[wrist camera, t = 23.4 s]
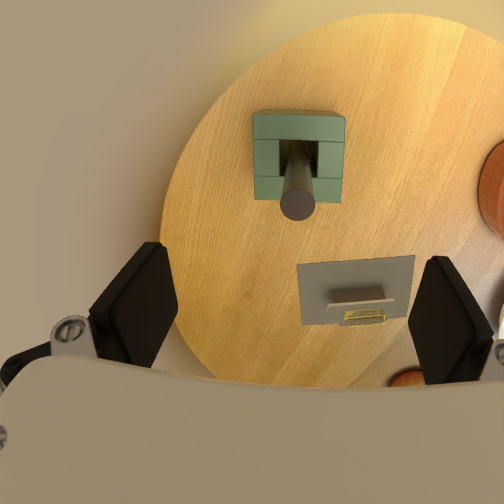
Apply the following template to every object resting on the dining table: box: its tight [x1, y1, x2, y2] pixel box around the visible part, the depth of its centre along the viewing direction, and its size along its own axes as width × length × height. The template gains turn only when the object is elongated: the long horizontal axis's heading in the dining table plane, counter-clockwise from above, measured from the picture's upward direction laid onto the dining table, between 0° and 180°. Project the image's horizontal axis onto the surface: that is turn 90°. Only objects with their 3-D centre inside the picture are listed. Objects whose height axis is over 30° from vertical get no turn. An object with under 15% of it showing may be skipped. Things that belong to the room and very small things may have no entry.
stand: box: [252, 110, 345, 203], centre depth 33 cm, size 9×9×8 cm
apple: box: [391, 371, 425, 387], centre depth 51 cm, size 10×10×8 cm
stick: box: [280, 140, 315, 221], centre depth 28 cm, size 2×2×20 cm
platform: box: [297, 255, 415, 328], centre depth 43 cm, size 12×18×7 cm, turn 100°
